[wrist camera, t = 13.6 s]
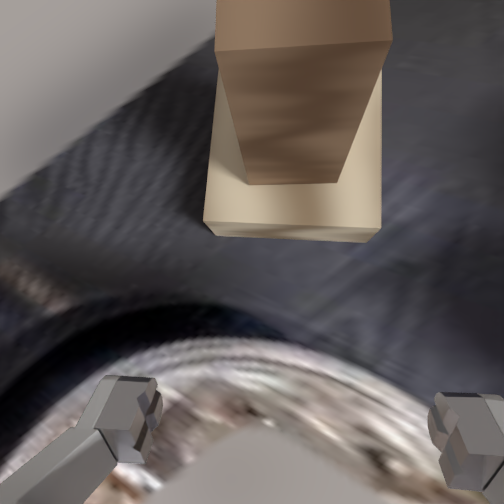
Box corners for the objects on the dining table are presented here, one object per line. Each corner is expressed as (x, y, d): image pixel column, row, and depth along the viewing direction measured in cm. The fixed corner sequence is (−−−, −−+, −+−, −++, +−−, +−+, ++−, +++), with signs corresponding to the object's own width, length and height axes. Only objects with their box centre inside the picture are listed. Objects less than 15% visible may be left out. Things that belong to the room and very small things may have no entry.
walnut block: (249, 185, 20) (214, 51, 10) (250, 108, 20) (220, -84, 11) (337, 183, 19) (392, 40, 9) (333, 104, 20) (381, -101, 10)
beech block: (217, 236, 23) (202, 220, 20) (229, 107, 25) (218, 69, 21) (365, 244, 22) (381, 228, 18) (366, 107, 24) (381, 67, 20)
